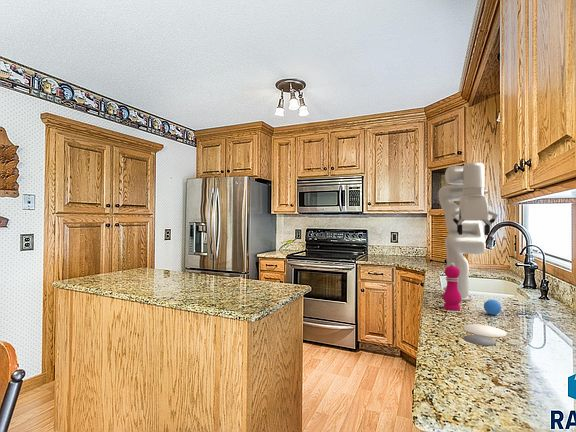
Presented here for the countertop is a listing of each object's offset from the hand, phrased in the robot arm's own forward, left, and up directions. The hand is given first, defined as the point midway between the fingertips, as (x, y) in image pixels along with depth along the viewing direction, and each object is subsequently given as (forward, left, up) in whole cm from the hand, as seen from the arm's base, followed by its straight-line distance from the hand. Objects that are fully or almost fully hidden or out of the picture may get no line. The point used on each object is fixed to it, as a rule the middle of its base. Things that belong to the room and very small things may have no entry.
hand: (473, 234), depth 134 cm
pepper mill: (-9, -2, -33) cm, 34 cm away
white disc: (+18, -12, -32) cm, 39 cm away
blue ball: (+2, +8, -30) cm, 31 cm away
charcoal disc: (+26, -21, -32) cm, 46 cm away
